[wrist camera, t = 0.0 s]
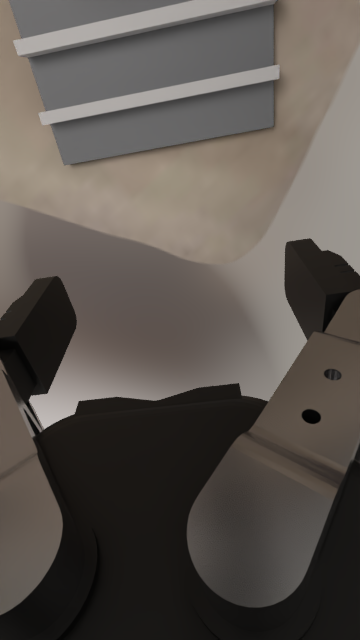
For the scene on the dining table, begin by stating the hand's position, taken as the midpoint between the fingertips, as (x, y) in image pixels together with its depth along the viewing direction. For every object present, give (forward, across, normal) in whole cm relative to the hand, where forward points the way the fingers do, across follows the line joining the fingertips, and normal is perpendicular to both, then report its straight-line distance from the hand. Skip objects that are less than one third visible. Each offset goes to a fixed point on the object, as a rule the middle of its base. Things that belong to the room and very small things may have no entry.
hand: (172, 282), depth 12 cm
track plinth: (+29, +1, -8) cm, 30 cm away
